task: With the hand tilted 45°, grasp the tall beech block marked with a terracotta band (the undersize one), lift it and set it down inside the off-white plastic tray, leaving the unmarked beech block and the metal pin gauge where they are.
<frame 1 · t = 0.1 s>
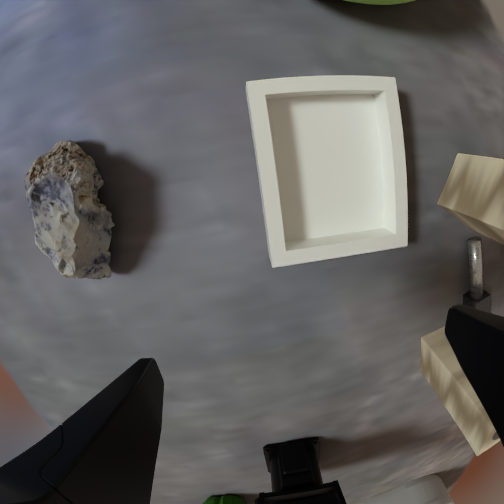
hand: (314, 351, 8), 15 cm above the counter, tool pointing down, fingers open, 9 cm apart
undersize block: (464, 192, 22), on the counter
pin gauge: (470, 290, 25), on the counter
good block: (440, 345, 27), on the counter
bell pepper: (224, 498, 35), on the counter
tray: (327, 165, 21), on the counter
mineral specimen: (79, 209, 21), on the counter
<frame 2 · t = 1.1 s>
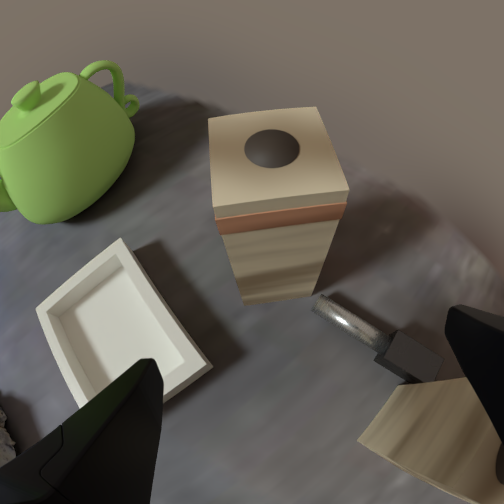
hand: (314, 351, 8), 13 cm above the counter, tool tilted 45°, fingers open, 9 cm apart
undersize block: (272, 270, 24), on the counter
pin gauge: (380, 347, 20), on the counter
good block: (401, 429, 17), on the counter
teapot: (74, 183, 30), on the counter
tray: (119, 341, 22), on the counter
mineral specimen: (3, 439, 18), on the counter
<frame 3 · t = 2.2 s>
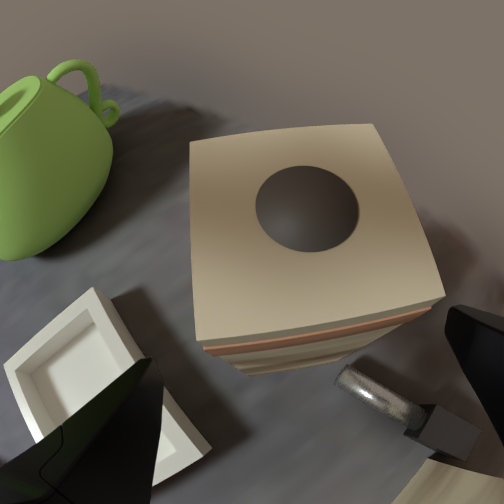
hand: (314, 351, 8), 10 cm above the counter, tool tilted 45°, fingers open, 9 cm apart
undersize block: (285, 330, 18), on the counter
pin gauge: (412, 419, 15), on the counter
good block: (426, 501, 12), on the counter
teapot: (47, 207, 24), on the counter
tray: (99, 409, 16), on the counter
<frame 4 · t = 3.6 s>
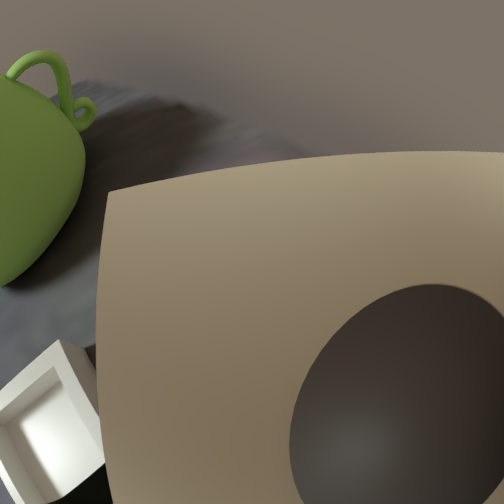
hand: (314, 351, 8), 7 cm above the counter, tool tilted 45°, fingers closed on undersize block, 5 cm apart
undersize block: (300, 395, 13), on the counter, touching gripper
teapot: (17, 226, 19), on the counter
tray: (80, 473, 12), on the counter
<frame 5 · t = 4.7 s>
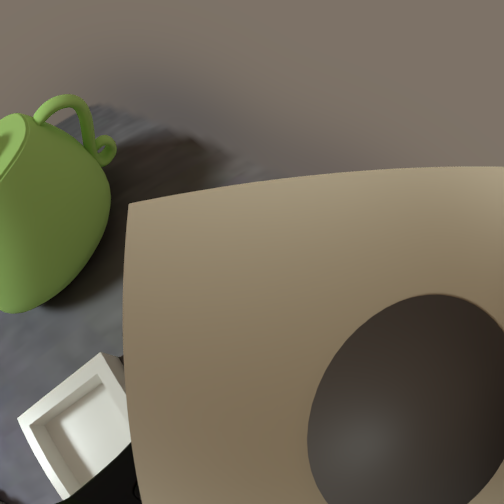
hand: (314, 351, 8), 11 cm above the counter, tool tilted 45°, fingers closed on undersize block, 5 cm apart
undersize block: (299, 393, 14), point 4 cm above the counter, touching gripper
teapot: (45, 248, 23), on the counter
tray: (115, 461, 16), on the counter
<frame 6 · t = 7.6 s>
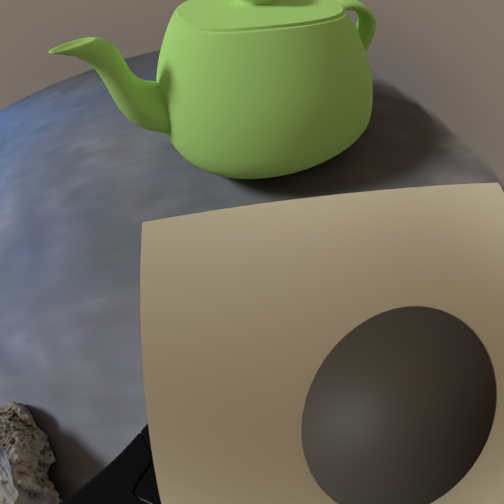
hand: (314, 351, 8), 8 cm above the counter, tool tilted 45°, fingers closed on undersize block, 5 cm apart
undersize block: (298, 392, 14), point 1 cm above the counter, touching gripper
teapot: (251, 132, 24), on the counter
mineral specimen: (36, 471, 13), on the counter
when the fingers open (8 cm above the counter, at t = 7.6 s): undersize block stays where it is, resting on tray.
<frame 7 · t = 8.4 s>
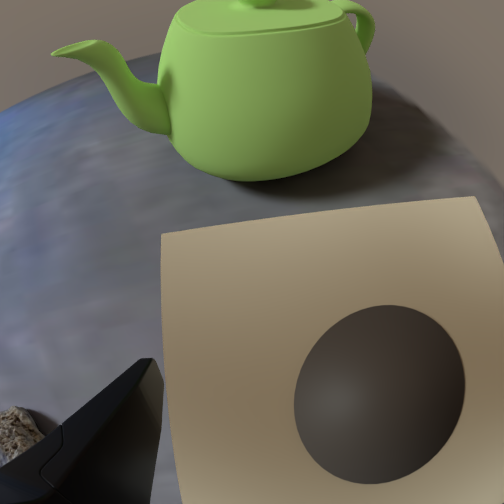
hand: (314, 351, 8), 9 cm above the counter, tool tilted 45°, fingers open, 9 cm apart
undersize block: (297, 390, 15), point 1 cm above the counter, touching tray
teapot: (252, 134, 24), on the counter
mineral specimen: (38, 475, 13), on the counter
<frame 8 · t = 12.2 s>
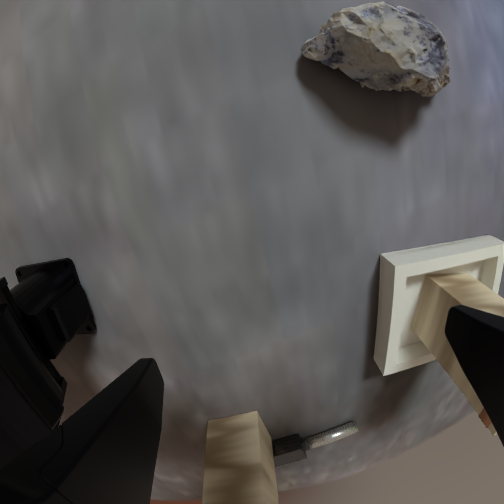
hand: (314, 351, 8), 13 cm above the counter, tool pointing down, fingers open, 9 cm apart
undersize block: (440, 300, 22), point 1 cm above the counter, touching tray
pin gauge: (300, 438, 28), on the counter
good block: (240, 430, 27), on the counter
tray: (436, 297, 23), on the counter
mineral specimen: (372, 50, 17), on the counter
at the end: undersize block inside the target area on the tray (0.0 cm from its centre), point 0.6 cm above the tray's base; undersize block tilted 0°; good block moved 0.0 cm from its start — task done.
